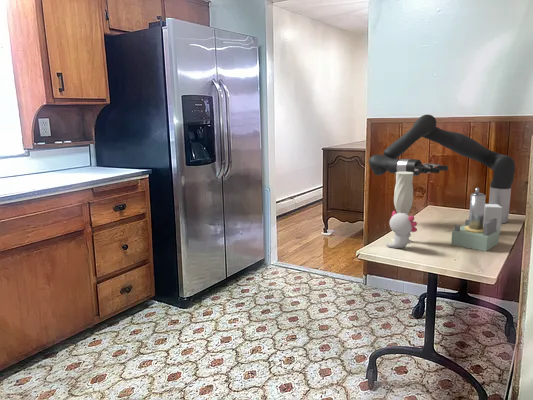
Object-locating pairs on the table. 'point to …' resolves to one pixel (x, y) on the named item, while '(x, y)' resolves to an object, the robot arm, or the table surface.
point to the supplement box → (493, 214)
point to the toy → (401, 229)
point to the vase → (403, 192)
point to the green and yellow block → (476, 236)
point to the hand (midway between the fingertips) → (443, 169)
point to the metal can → (476, 210)
